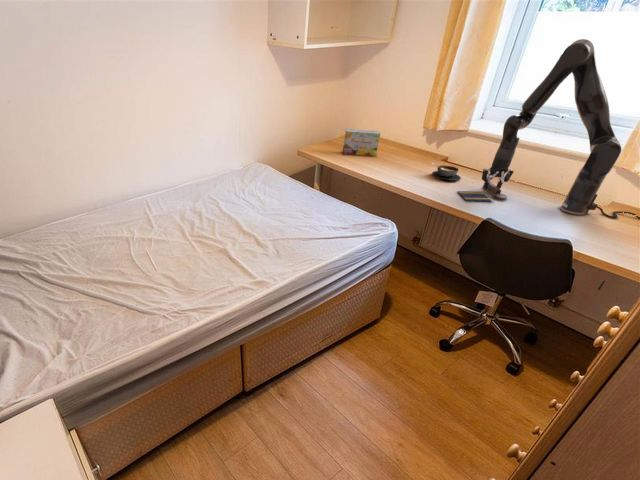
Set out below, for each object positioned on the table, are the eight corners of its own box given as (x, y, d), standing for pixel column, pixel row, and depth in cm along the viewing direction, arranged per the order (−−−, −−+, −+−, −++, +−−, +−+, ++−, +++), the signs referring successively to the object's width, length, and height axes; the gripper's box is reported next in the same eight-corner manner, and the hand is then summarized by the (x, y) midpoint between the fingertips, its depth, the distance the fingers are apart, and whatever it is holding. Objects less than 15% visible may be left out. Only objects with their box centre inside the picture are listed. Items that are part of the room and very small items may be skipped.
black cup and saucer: (452, 184, 204) (457, 171, 200) (424, 176, 214) (427, 163, 209) (464, 177, 212) (469, 164, 208) (436, 170, 222) (440, 157, 218)
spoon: (480, 186, 201) (482, 181, 199) (491, 187, 201) (493, 181, 199) (496, 200, 187) (498, 194, 185) (507, 200, 186) (510, 194, 185)
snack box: (342, 154, 247) (345, 130, 239) (342, 151, 252) (345, 128, 243) (375, 157, 242) (380, 133, 234) (375, 154, 247) (380, 130, 238)
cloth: (481, 193, 194) (482, 191, 194) (491, 202, 185) (492, 200, 185) (457, 192, 195) (457, 190, 195) (465, 201, 186) (466, 199, 186)
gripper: (492, 159, 184) (479, 191, 194) (523, 159, 183) (509, 192, 193) (485, 154, 190) (473, 185, 200) (515, 154, 189) (502, 186, 199)
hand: (491, 188), depth 196 cm, fingers open, 5 cm apart
